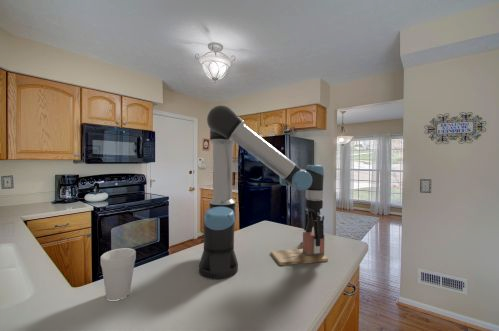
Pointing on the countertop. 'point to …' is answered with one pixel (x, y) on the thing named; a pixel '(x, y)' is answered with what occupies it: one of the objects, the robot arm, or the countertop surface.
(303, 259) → the board
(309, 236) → the block
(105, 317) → the countertop surface
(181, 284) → the countertop surface
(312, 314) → the countertop surface
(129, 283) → the foam cup
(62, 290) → the countertop surface
